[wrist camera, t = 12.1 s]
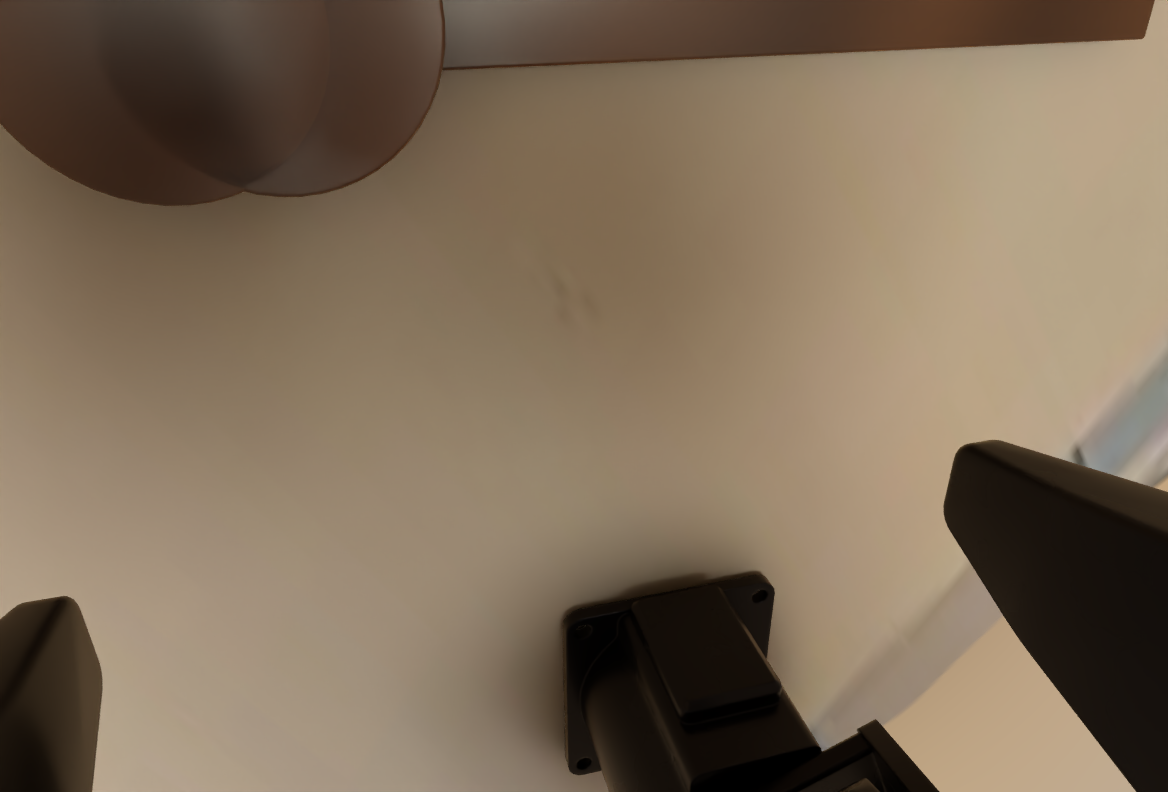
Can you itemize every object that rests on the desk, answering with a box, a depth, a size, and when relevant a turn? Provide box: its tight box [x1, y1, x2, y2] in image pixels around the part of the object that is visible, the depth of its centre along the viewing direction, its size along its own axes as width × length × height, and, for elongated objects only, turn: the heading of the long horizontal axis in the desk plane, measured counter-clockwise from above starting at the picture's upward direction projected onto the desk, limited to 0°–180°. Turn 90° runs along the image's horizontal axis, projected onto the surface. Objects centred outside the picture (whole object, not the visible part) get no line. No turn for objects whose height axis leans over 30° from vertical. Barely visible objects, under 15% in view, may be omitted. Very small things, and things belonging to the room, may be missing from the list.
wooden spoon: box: [0, 0, 1155, 206], centre depth 18 cm, size 24×6×2 cm, turn 90°
